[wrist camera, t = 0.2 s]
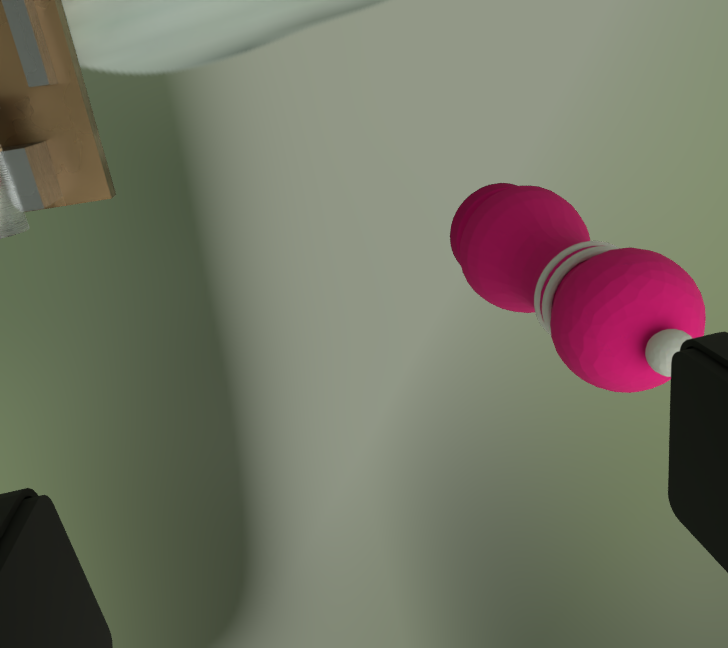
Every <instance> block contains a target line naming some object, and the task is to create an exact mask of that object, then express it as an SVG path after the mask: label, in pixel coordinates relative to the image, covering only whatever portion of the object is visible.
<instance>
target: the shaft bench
mask: <svg viewBox="0 0 728 648" xmlns="http://www.w3.org/2000/svg"><path fill="white" fill-rule="evenodd" d="M115 195H116V193H115V190H114V186H113V182H112V179H111V175H110V172H109V168H108V165H107V161H106V157H105V154H104V150H103V147H102V143H101V140H100V136H99V133H98V129H97V126H96V122H95V119H94V115H93V111H92V108H91V104H90V101H89V97H88V94H87V90H86V87H85V83H84V80H83V76H82V73H81V69H80V66H79V62H78V58H77V55H76V51H75V48H74V44H73V41H72V37H71V34H70V30H69V27H68V23H67V20H66V16H65V13H64V9H63V6H62V2H61V0H0V239H1V238H4V237H9V236H12V235H16V234H19V233H21V232H24V231H26V230H28V229H29V225H28V222H27V220H26V216H25V213H24V212H28V211H35V210H41V209H47V208H54V207H60V206H67V205H73V204H79V203H86V202H92V201H98V200H105V199H110V198H113V197H114V196H115Z"/></svg>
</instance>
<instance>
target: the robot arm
mask: <svg viewBox="0 0 728 648" xmlns="http://www.w3.org/2000/svg"><path fill="white" fill-rule="evenodd" d="M669 439H670V440H669V480H668V497H669V501H670V505H671V508H672V510H673V512H674V514H675V516H676V517H677V518H678V519H679V521H680V522H681V523H682V524H683V525H684V526H685V527H686V528H687V529H688V530H689V531H690V533H691V534H692V535H693V536H694V537H695V538H696V539H697V540H698V541H699V542H700V543H701V544H702V545H703V547H704V548H706V550H707V551H708V552H709V553H710V554H711V555H712V556H713V557H714V558H715V560H716V561H717V562H718V563H719V564H720V565H721V566H722V567H723V568H724V569H725V570H726V571H727V572H728V333H727V332H719V333H715V334H711V335H706V336H701V337H697V338H692V339H688V340H686V341H684V342H683V343H682V345H681V347H680V351H678V352H676V353H675V354H674V355H673V357H672V361H671V396H670V438H669ZM0 648H112V638H111V633H110V630H109V628H108V625H107V623H106V621H105V619H104V616H103V614H102V612H101V610H100V607H99V605H98V603H97V601H96V598H95V596H94V594H93V592H92V589H91V588H90V585H89V583H88V581H87V578H86V576H85V574H84V571H83V569H82V567H81V565H80V563H79V560H78V558H77V556H76V554H75V551H74V549H73V547H72V545H71V542H70V540H69V538H68V536H67V533H66V531H65V529H64V527H63V524H62V522H61V520H60V518H59V515H58V513H57V511H56V509H55V506H54V504H53V503H52V501H51V499H50V498H49V497H48V496H46V495H42V496H38V495H37V493H36V492H35V491H34V490H33V489H29V488H26V489H21V490H18V491H13V492H8V493H4V494H0Z"/></svg>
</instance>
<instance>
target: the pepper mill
mask: <svg viewBox="0 0 728 648" xmlns="http://www.w3.org/2000/svg"><path fill="white" fill-rule="evenodd" d="M450 242H451V247H452V251H453V254H454V256H455V258H456V260H457V261H458V262H459V264H460V265H461V267H462V270H463V273H464V275H465V277H466V279H467V282H468V283H469V284H470V286H471V287H472V288H473V290H474V291H475V292H476V293H477V294H479V295H480V296H481V297H482V298H484V299H485V300H487V301H488V302H490V303H491V304H493V305H496V306H497V307H500V308H502V309H506V310H510V311H515V312H524V313H531V312H535V313H536V316H537V319H538V321H539V323H540V324H541V326H542V327H543V328H544V330H545V331H546V332H547V333H548V334H550V335H551V337H552V340H553V343H554V345H555V348H556V351H557V353H558V355H559V356H560V358H561V359H562V361H563V362H564V363H565V364H566V365H567V367H568V368H569V369H570V370H571V371H572V372H574V373H575V374H576V375H577V376H578V377H580V378H581V379H583V380H584V381H586V382H588V383H590V384H592V385H594V386H596V387H599V388H603V389H606V390H610V391H614V392H629V393H631V392H639V391H644V390H648V389H652V388H654V387H657V386H659V385H661V384H664V383H665V382H667V381H669V380H670V379H671V361H672V357H673V355H674V354H675V353H676V352H678V351H680V347H681V345H682V343H683V342H684V341H686V340H688V339H692V338H697V337H701V336H703V335H704V329H705V306H704V302H703V299H702V295H701V292H700V291H699V289H698V287H697V286H696V284H695V282H694V280H693V279H692V278H691V277H690V275H688V273H687V272H686V271H685V270H683V269H682V268H681V267H680V266H679V265H677V264H676V263H675V262H673V261H672V260H670V259H669V258H667V257H665V256H663V255H661V254H659V253H656V252H653V251H649V250H643V249H636V248H622V249H620V248H618V247H617V246H615V245H613V244H610V243H607V242H602V241H590V237H589V233H588V230H587V227H586V225H585V224H584V222H583V220H582V219H581V217H580V215H579V214H578V212H577V211H576V210H575V209H574V207H573V206H572V205H571V204H569V203H568V202H567V201H566V200H564V199H563V198H562V197H560V196H559V195H557V194H555V193H554V192H552V191H550V190H547V189H544V188H541V187H537V186H517V185H513V184H508V183H498V184H492V185H488V186H485V187H482V188H480V189H479V190H477V191H475V192H474V193H472V194H471V195H470V196H469V197H468V198H467V199H466V200H464V202H463V203H462V204H461V205H460V207H459V208H458V210H457V212H456V214H455V216H454V218H453V221H452V225H451V232H450Z"/></svg>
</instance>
